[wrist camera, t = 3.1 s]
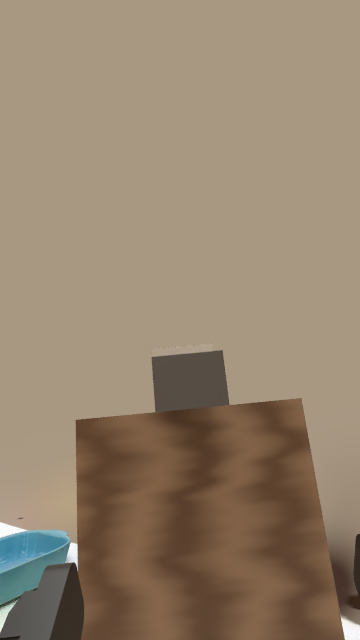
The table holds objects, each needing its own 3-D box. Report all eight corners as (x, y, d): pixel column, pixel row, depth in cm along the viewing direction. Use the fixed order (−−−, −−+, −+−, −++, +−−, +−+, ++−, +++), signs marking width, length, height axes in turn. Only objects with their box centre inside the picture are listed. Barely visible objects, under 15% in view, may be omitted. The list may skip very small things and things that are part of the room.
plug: (215, 406, 37) (208, 351, 38) (247, 403, 18) (233, 298, 20) (159, 412, 37) (155, 356, 38) (137, 413, 18) (130, 307, 20)
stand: (313, 744, 33) (261, 402, 41) (406, 982, 19) (301, 398, 27) (125, 766, 32) (111, 416, 40) (84, 1023, 19) (75, 420, 27)
